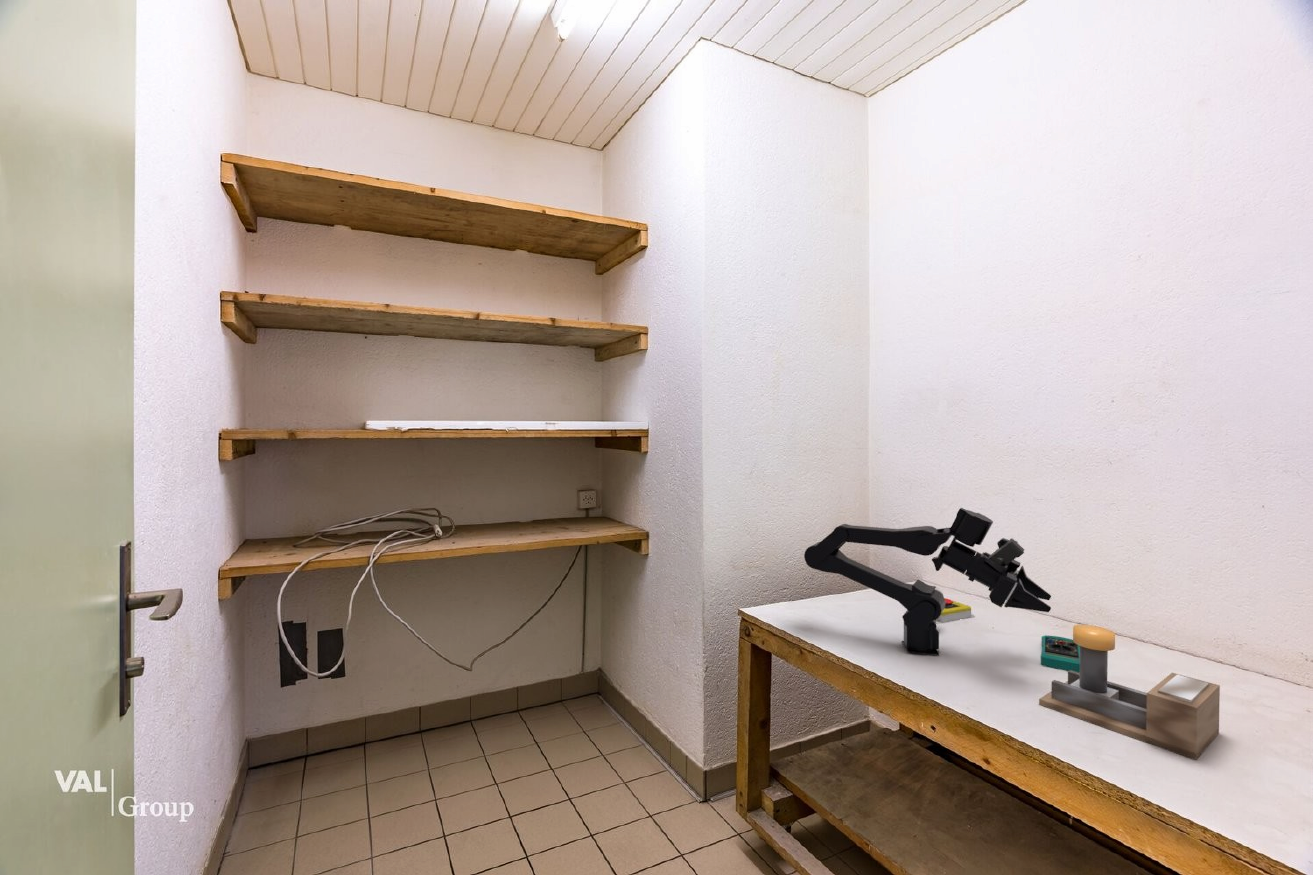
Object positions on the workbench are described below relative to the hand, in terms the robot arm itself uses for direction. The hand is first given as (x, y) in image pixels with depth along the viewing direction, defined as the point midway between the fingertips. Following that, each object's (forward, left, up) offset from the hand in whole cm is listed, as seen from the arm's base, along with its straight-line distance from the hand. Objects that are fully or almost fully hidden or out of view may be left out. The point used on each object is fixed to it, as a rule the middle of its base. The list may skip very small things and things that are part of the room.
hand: (1050, 603), depth 117 cm
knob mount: (+4, -17, -15) cm, 22 cm away
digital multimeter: (+7, +10, -15) cm, 19 cm away
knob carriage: (+1, -13, -13) cm, 19 cm away
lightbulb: (-16, +24, -15) cm, 33 cm away
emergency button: (-10, +36, -15) cm, 40 cm away
